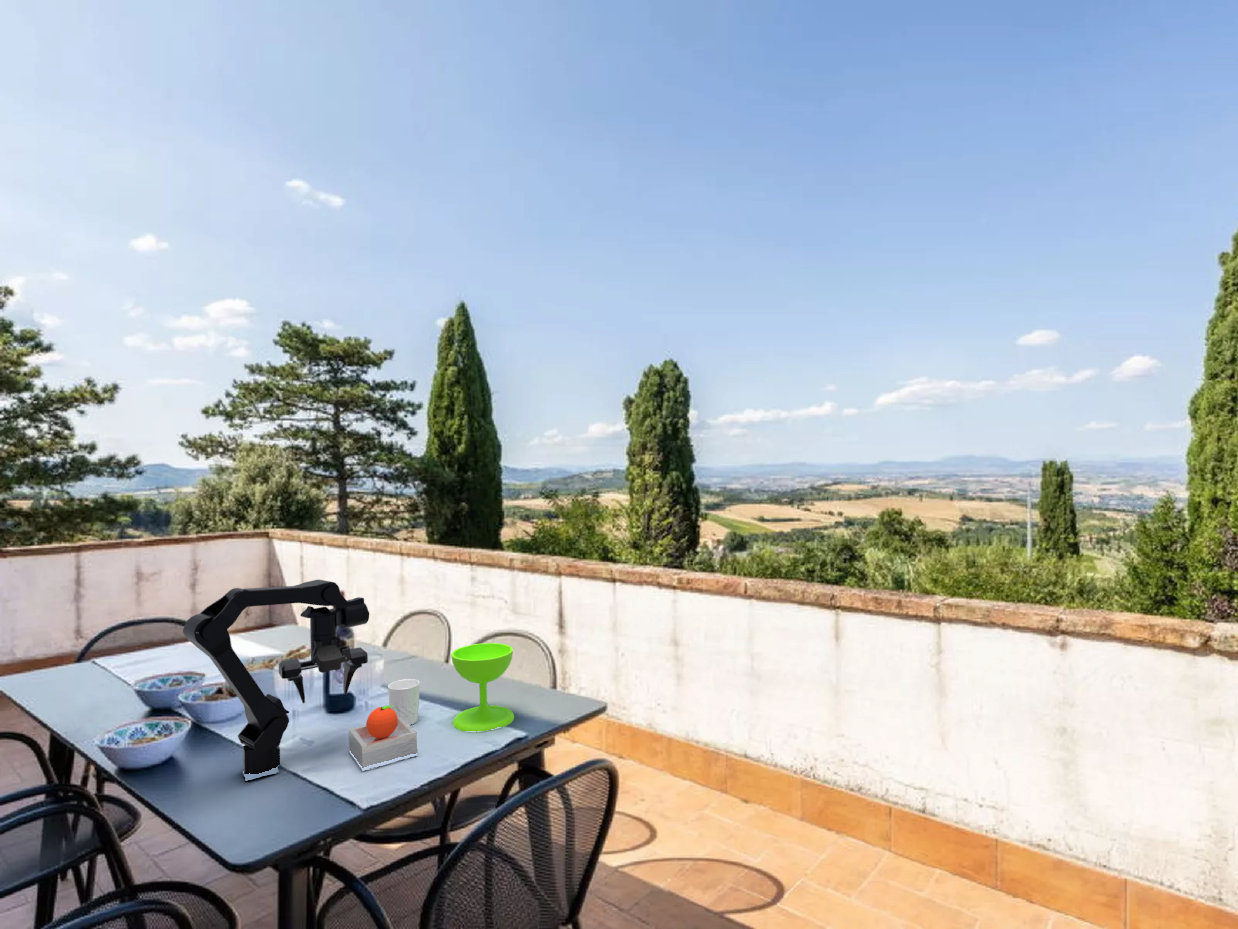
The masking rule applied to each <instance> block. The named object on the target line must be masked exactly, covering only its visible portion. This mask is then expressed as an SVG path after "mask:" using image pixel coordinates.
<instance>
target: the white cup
mask: <svg viewBox="0 0 1238 929" xmlns="http://www.w3.org/2000/svg"><path fill="white" fill-rule="evenodd" d="M420 683H421V682H420V681H419V679H414V678H406V679H405V678H404V679H399V680H395V681H392V682H391V683H389V684H388V685H387V694H388V706H394V707H389V708H391V709H393V710H394V711H395V712H396V714H397V717H400V716H401V717H402V718H403V719H404V720H405V721H406V722H407V723H408V724H409V725H410V726H412V725H414V724H416V723H417V722H418V721H419V709H420V686H421V684H420ZM396 707H397V708H398V709H399V710H398V709H397V708H396ZM411 724H412V725H411Z"/></svg>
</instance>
